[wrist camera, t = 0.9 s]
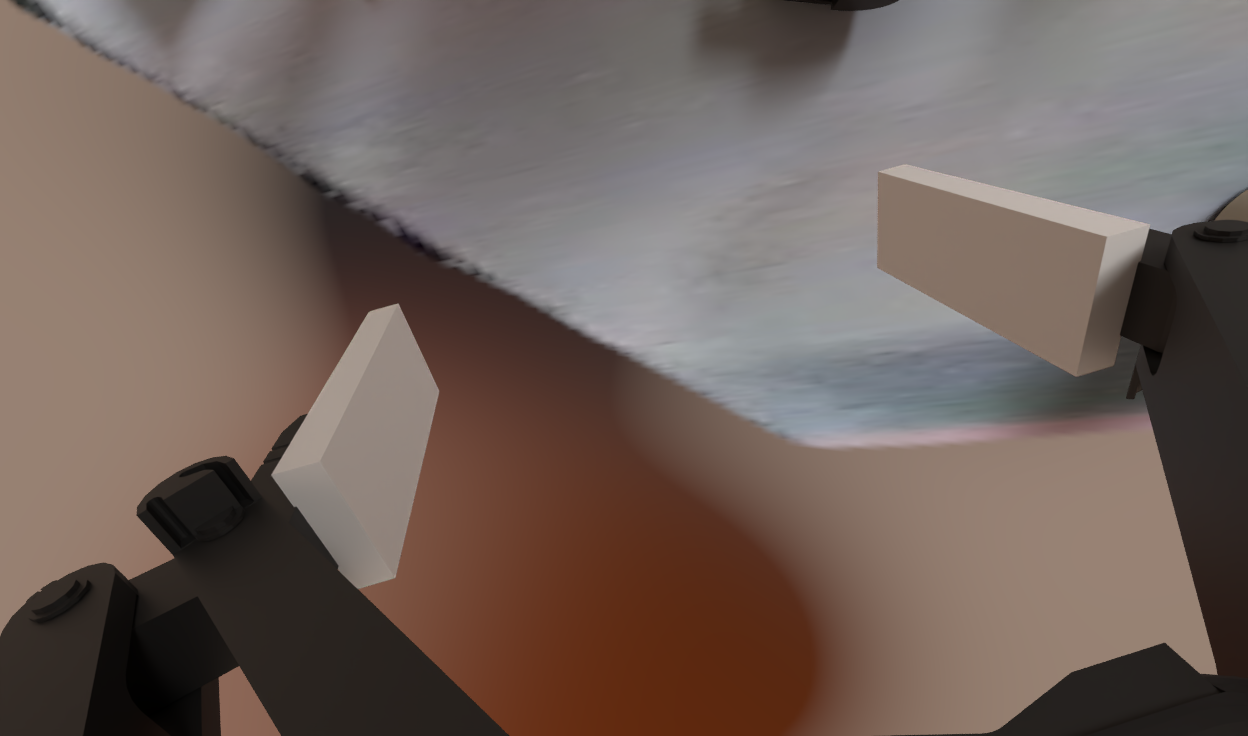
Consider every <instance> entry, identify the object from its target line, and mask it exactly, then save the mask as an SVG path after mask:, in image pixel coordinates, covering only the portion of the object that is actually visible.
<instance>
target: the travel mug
mask: <svg viewBox="0 0 1248 736" xmlns="http://www.w3.org/2000/svg"><path fill="white" fill-rule="evenodd" d="M1215 220H1240V221H1244V222H1248V190H1246V191H1245V192H1243V193H1242V194H1240V195H1239V196H1238V197H1236V198H1235V199H1234V200H1233V201H1232V202H1230V203H1229V204H1228V205H1227V206H1226V207H1225V208H1224V209H1223V210H1222V212H1221V213H1220V214H1219V215H1218V216H1217V218H1216V219H1215ZM1215 220H1214V221H1215Z"/></svg>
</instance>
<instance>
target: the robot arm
mask: <svg viewBox="0 0 1248 736" xmlns="http://www.w3.org/2000/svg"><path fill="white" fill-rule="evenodd" d="M1149 227H1150V224H1146V223H1142V222H1138V221H1134V220H1130V219H1125V218H1121V217H1117V216H1113V215H1109V214H1105V213H1101V212H1097V211H1093V210H1089V209H1085V208H1081V207H1077V206H1073V205H1069V204H1064V203H1060V202H1056V201H1052V200H1048V199H1044V198H1040V197H1036V196H1032V195H1028V194H1024V193H1020V192H1016V191H1012V190H1008V189H1004V188H999V187H995V186H991V185H987V184H983V183H979V182H975V181H971V180H967V179H963V178H959V177H955V176H951V175H947V174H943V173H938V172H934V171H930V170H926V169H922V168H918V167H914V166H910V165H906V164H904V165H901V166H897V167H893V168H890V169H886V170H882V171H879V172H878V251H877V268H879V269H881V270H883V271H884V272H886V273H888V274H890V275H892V276H894V277H895V278H897V279H899V280H901V281H903V282H904V283H906V284H908V285H910V286H912V287H914V288H915V289H917V290H919V291H921V292H923V293H924V294H926V295H928V296H930V297H932V298H934V299H935V300H937V301H939V302H941V303H943V304H944V305H946V306H948V307H950V308H952V309H954V310H955V311H957V312H959V313H961V314H963V315H965V316H966V317H968V318H970V319H972V320H974V321H975V322H977V323H979V324H981V325H983V326H985V327H986V328H988V329H990V330H992V331H994V332H995V333H997V334H999V335H1001V336H1003V337H1005V338H1006V339H1008V340H1010V341H1012V342H1014V343H1015V344H1017V345H1019V346H1021V347H1023V348H1025V349H1026V350H1028V351H1030V352H1032V353H1034V354H1035V355H1037V356H1039V357H1041V358H1043V359H1045V360H1046V361H1048V362H1050V363H1052V364H1054V365H1055V366H1057V367H1059V368H1061V369H1063V370H1065V371H1066V372H1068V373H1070V374H1072V375H1074V376H1075V377H1078V376H1081V375H1084V374H1088V373H1091V372H1095V371H1098V370H1101V369H1105V368H1108V367H1111V366H1114V363H1115V359H1116V355H1117V351H1118V348H1119V344H1120V340H1121V336H1123V337H1125V338H1128V339H1130V340H1132V341H1135V342H1137V343H1139V344H1141V346H1140V350H1139V353H1138V357H1137V361H1136V364H1135V368H1134V371H1133V375H1132V378H1131V382H1130V386H1129V389H1128V393H1127V397H1126V398H1127V399H1134V398H1135V395H1136V393H1137V392H1139V391H1141V390H1143V394H1144V397H1145V401H1146V405H1147V409H1148V412H1149V416H1150V420H1151V424H1152V427H1153V431H1154V435H1155V439H1156V442H1157V446H1158V450H1159V453H1160V457H1161V461H1162V465H1163V469H1164V472H1165V476H1166V480H1167V483H1168V487H1169V491H1170V495H1171V499H1172V502H1173V506H1174V510H1175V514H1176V517H1177V521H1178V525H1179V528H1180V532H1181V536H1182V540H1183V544H1184V547H1185V551H1186V555H1187V558H1188V562H1189V566H1190V570H1191V573H1192V577H1193V581H1194V585H1195V588H1196V592H1197V596H1198V600H1199V603H1200V607H1201V611H1202V614H1203V619H1204V622H1205V626H1206V630H1207V633H1208V637H1209V641H1210V644H1211V648H1212V652H1213V656H1214V659H1215V663H1216V668H1217V674H1218V675H1210V674H1200V673H1198V672H1197V671H1196V670H1195V669H1194V668H1193V667H1192V666H1190V665H1189V664H1188V663H1187V662H1186V661H1185V660H1184V659H1183V658H1181V657H1180V656H1179V655H1178V654H1177V653H1176V652H1175V651H1173V650H1172V649H1171V648H1170V647H1169V646H1168V645H1167V644H1166V643H1162V644H1159V645H1156V646H1153V647H1150V648H1147V649H1143V650H1140V651H1137V652H1134V653H1131V654H1128V655H1125V656H1121V657H1118V658H1115V659H1112V660H1109V661H1106V662H1103V663H1100V664H1096V665H1093V666H1090V667H1087V668H1084V669H1081V670H1077V671H1074V672H1072V673H1070V674H1069V675H1067V676H1066V677H1065V678H1064V679H1062V680H1061V681H1060V682H1059V683H1057V684H1056V685H1055V686H1054V687H1052V688H1051V689H1050V690H1048V692H1046V693H1045V694H1043V695H1042V696H1041V697H1040V698H1038V699H1037V700H1036V701H1034V702H1033V703H1032V704H1031V705H1029V706H1028V707H1027V708H1026V709H1024V710H1023V711H1022V712H1021V713H1019V714H1018V715H1017V716H1015V717H1014V718H1013V719H1012V720H1010V721H1009V722H1008V723H1007V724H1005V725H1004V726H1003V727H1001V728H1000V729H998V730H996V731H993V732H990V733H984V734H947V735H946V734H945V735H944V734H943V735H894V736H1248V222H1244V221H1240V220H1215V221H1211V222H1200V223H1193V224H1189V225H1184V226H1181V227H1179V228H1177V229H1175V230H1173V232H1172V234H1168V233H1164V232H1160V231H1156V230H1152V229H1149ZM438 394H439V390H438V388H437V385H436V383H435V381H434V379H433V377H432V375H431V373H430V371H429V368H428V366H427V364H426V362H425V360H424V358H423V355H422V353H421V351H420V349H419V347H418V345H417V343H416V340H415V338H414V336H413V334H412V332H411V330H410V328H409V325H408V324H407V321H406V319H405V317H404V315H403V313H402V311H401V308H400V306H399V304H395V305H392V306H388V307H384V308H380V309H377V310H373V311H370V312H369V313H368V315H367V316H366V318H365V320H364V321H363V323H362V324H361V326H360V328H359V330H358V331H357V333H356V335H355V336H354V338H353V339H352V341H351V343H350V344H349V346H348V348H347V349H346V351H345V353H344V355H343V356H342V358H341V359H340V361H339V363H338V365H337V366H336V368H335V370H334V371H333V373H332V374H331V376H330V378H329V380H328V381H327V383H326V385H325V386H324V388H323V389H322V391H321V393H320V394H319V396H318V398H317V400H316V401H315V403H314V404H313V406H312V408H311V410H310V411H309V413H308V414H306V415H302V416H300V417H299V418H298V419H297V420H295V421H294V422H293V423H292V424H291V425H290V426H289V427H288V428H286V429H285V430H284V431H283V432H282V433H281V435H280V436H279V438H278V440H277V441H276V443H275V444H274V446H273V447H272V451H270V452H269V453H268V455H267V457H266V458H265V460H264V461H263V462H264V464H263V465H261V466H260V468H259V469H258V471H257V472H256V474H255V475H254V477H253V478H252V480H251V481H250V480H249V478H248V477H247V475H246V474H245V473H244V471H243V470H242V469H241V468H240V466H239V465H238V463H237V462H236V461H235V459H234V458H230V457H227V456H221V457H213V458H210V459H207V460H204V461H201V462H198V463H195V464H193V465H191V466H189V467H187V468H185V469H183V470H181V471H179V472H177V473H175V474H174V475H172V476H171V477H169V478H167V479H166V480H164V481H163V482H161V483H160V484H158V485H157V486H156V487H155V488H154V489H153V490H151V491H150V492H149V493H148V494H147V495H146V496H145V497H144V498H143V500H142V501H141V503H140V504H139V505H138V507H137V516H138V517H139V518H140V520H141V521H142V522H143V523H144V524H145V525H146V526H147V527H148V528H149V529H150V531H151V532H152V533H153V534H154V535H155V536H156V537H157V538H158V539H159V540H160V541H161V542H162V544H163V545H164V546H165V547H166V548H167V549H168V550H169V551H170V552H171V553H172V554H173V556H174V559H172V560H170V561H168V562H166V563H164V564H162V565H160V566H158V567H156V568H153V569H151V570H150V571H147V572H145V573H143V574H141V575H139V576H137V577H135V578H133V579H130V580H127V578H126V577H125V576H124V575H123V574H122V573H120V572H119V571H118V570H117V569H116V568H115V566H113V565H111V564H107V563H99V564H95V565H90V566H87V567H84V568H82V569H79V570H77V571H75V572H72V573H70V574H68V575H66V576H65V577H63V578H61V579H59V580H58V581H57V580H56V581H53V582H51V583H49V584H48V585H46V586H45V587H43V588H42V589H41V590H42V591H41V592H36V593H35V594H34V595H33V596H31V597H30V598H29V599H28V600H27V601H26V603H25V605H23V606H22V607H21V608H20V609H19V610H18V611H17V612H16V613H15V614H14V615H13V616H12V617H11V619H10V620H9V622H8V623H7V625H6V626H5V628H4V629H3V631H2V633H1V636H0V736H221V728H220V703H219V680H218V677H220V676H222V675H223V674H225V673H227V672H229V671H231V670H232V669H234V668H236V667H238V666H240V668H241V669H242V671H243V673H244V674H245V676H246V678H247V679H248V681H249V682H250V684H251V686H252V688H253V689H254V691H255V693H256V694H257V696H258V698H259V699H260V701H261V702H262V704H263V706H264V707H265V709H266V711H267V713H268V714H269V716H270V717H271V719H272V721H273V723H274V724H275V726H276V728H277V729H278V731H279V733H280V734H281V736H509V735H508V734H507V733H506V732H505V731H504V730H502V728H501V727H500V726H499V725H498V724H497V723H496V722H495V721H493V720H492V719H491V718H490V717H489V716H488V715H487V714H486V713H485V712H484V711H483V710H482V709H481V708H480V707H479V706H478V705H477V704H476V703H475V702H474V701H473V700H472V699H471V698H470V697H469V696H468V695H467V694H466V693H465V692H464V691H462V690H461V689H460V688H459V687H458V686H457V685H456V684H455V683H454V682H453V681H452V680H451V679H450V678H449V677H448V676H447V675H445V673H444V672H443V671H442V670H441V669H440V668H439V667H438V666H437V665H436V664H434V663H433V662H432V661H431V660H430V659H429V658H428V657H427V656H426V655H425V654H424V653H423V652H422V651H421V650H420V649H419V648H418V647H417V646H416V645H415V644H414V643H413V642H412V641H411V640H410V639H409V638H408V637H407V636H406V635H405V634H404V633H403V632H402V631H400V630H399V629H398V628H397V627H396V626H395V625H394V624H393V623H392V622H391V621H390V620H389V619H388V618H387V617H386V616H385V615H384V614H383V613H382V612H381V611H380V610H379V609H378V608H376V606H375V605H374V604H373V603H372V602H370V601H369V600H368V599H367V598H366V597H365V596H364V595H363V594H362V593H361V592H360V591H359V590H358V589H360V588H363V587H367V586H370V585H374V584H377V583H380V582H384V581H387V580H391V579H394V578H395V577H396V573H397V569H398V565H399V561H400V556H401V551H402V548H403V543H404V539H405V535H406V531H407V526H408V522H409V518H410V513H411V509H412V505H413V501H414V497H415V492H416V488H417V484H418V479H419V475H420V471H421V467H422V463H423V458H424V454H425V450H426V445H427V441H428V437H429V433H430V428H431V424H432V420H433V415H434V411H435V407H436V403H437V398H438ZM337 569H338V570H339V571H340V572H339V571H338V570H337Z"/></svg>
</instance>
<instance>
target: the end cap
mask: <svg viewBox="0 0 1248 736" xmlns="http://www.w3.org/2000/svg"><path fill="white" fill-rule="evenodd" d="M786 1H797V2H807V3H818V4H832V5H831V10H838V11H857V10H868V9H875V8H880V7H884V6H887V5H890V4H892V3H895V2H897V1H899V0H786Z"/></svg>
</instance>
